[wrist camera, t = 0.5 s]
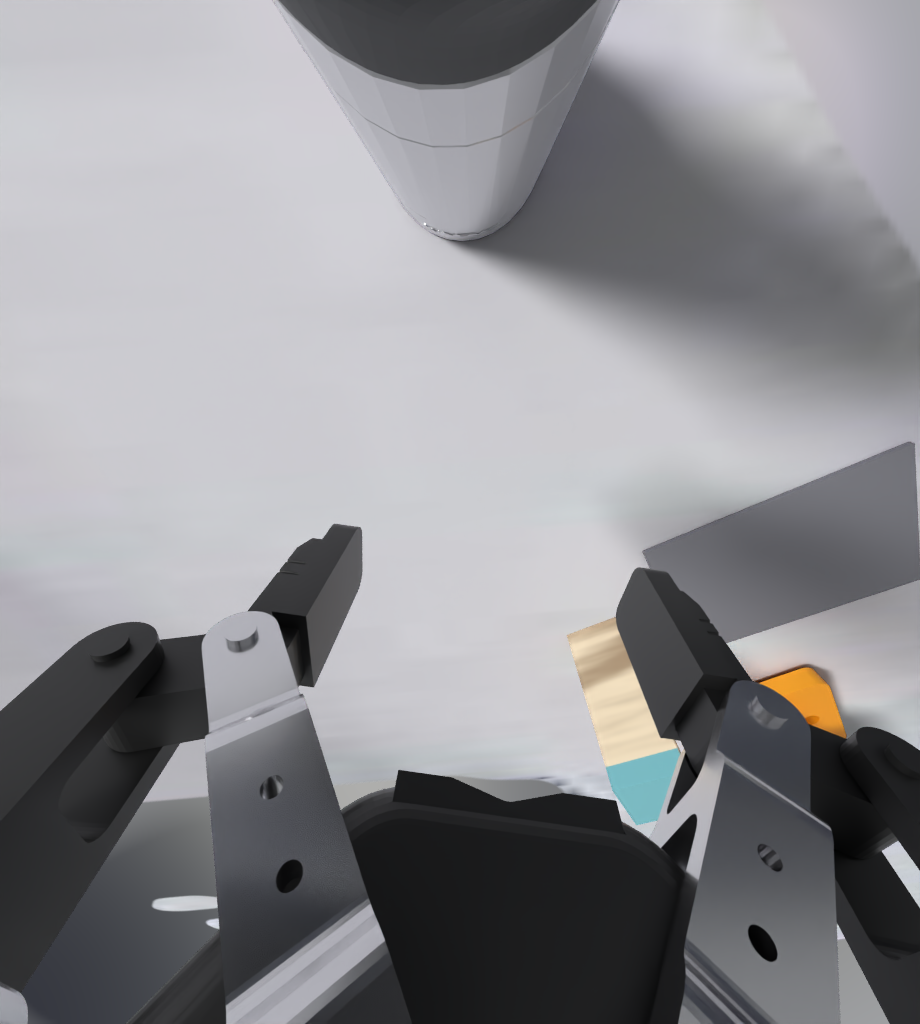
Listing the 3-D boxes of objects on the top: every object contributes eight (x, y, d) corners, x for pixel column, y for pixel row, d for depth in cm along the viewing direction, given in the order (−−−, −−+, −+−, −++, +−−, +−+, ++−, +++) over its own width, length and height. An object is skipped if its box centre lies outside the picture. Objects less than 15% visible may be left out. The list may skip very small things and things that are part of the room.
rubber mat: (685, 652, 38) (687, 655, 38) (642, 551, 33) (644, 553, 33) (915, 576, 33) (920, 579, 33) (908, 441, 28) (914, 443, 28)
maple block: (566, 635, 38) (612, 790, 25) (615, 617, 36) (688, 771, 24) (585, 666, 40) (636, 825, 27) (631, 650, 38) (707, 809, 26)
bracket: (826, 716, 42) (946, 850, 31) (759, 736, 44) (850, 869, 33) (805, 658, 38) (934, 789, 28) (732, 683, 40) (825, 814, 30)
